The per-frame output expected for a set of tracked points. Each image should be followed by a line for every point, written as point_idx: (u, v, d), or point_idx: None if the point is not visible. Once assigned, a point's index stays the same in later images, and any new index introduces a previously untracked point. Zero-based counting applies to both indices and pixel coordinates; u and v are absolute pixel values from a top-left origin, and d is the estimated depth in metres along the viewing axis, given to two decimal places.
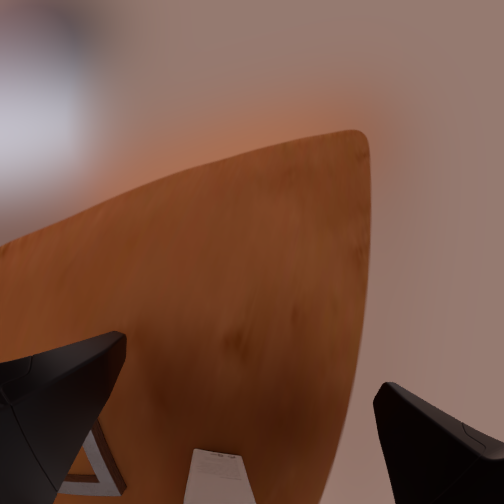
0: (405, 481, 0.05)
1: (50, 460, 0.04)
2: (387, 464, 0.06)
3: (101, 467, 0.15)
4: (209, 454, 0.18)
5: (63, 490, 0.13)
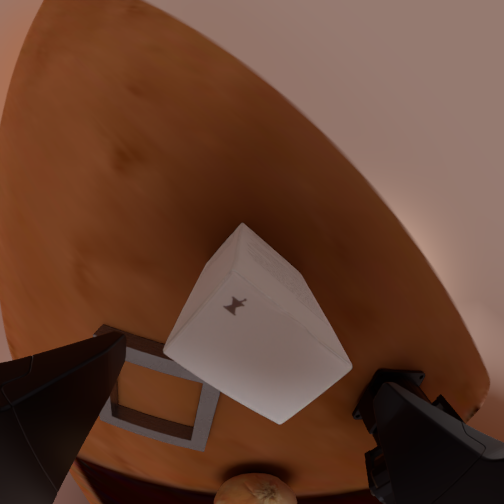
0: (405, 481, 0.05)
1: (51, 460, 0.04)
2: (387, 464, 0.06)
3: (185, 369, 0.20)
4: (215, 253, 0.19)
5: (207, 423, 0.22)
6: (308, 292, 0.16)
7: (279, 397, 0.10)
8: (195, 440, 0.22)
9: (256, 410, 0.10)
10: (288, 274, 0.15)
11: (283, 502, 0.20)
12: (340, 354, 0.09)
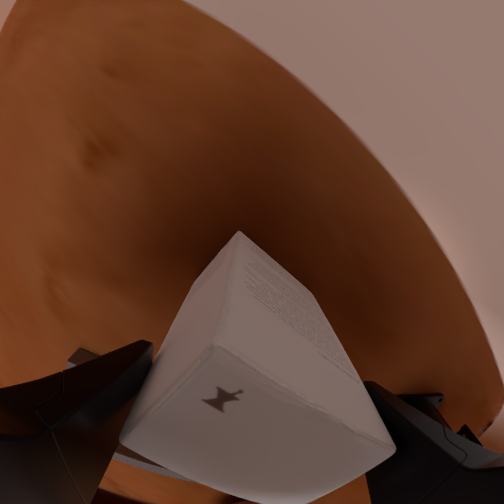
0: (382, 486, 0.05)
1: (83, 477, 0.04)
2: None
3: None
4: (204, 270, 0.15)
5: None
6: (327, 326, 0.11)
7: (291, 491, 0.05)
8: None
9: (258, 502, 0.05)
10: (301, 304, 0.11)
11: None
12: (383, 439, 0.05)
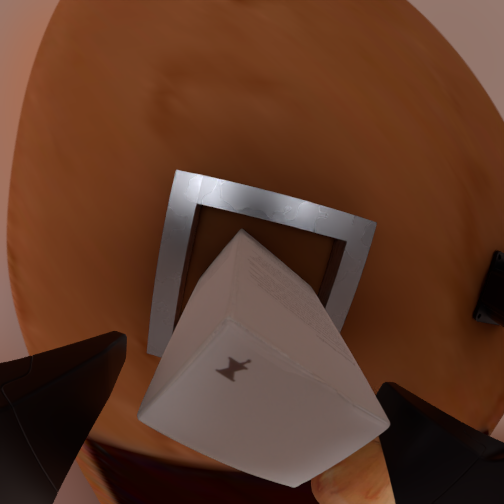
0: (405, 481, 0.05)
1: (51, 460, 0.04)
2: (387, 464, 0.06)
3: (325, 216, 0.15)
4: (210, 266, 0.16)
5: (337, 324, 0.16)
6: (325, 316, 0.12)
7: (294, 465, 0.06)
8: None
9: (264, 477, 0.06)
10: (300, 295, 0.12)
11: None
12: (377, 413, 0.06)
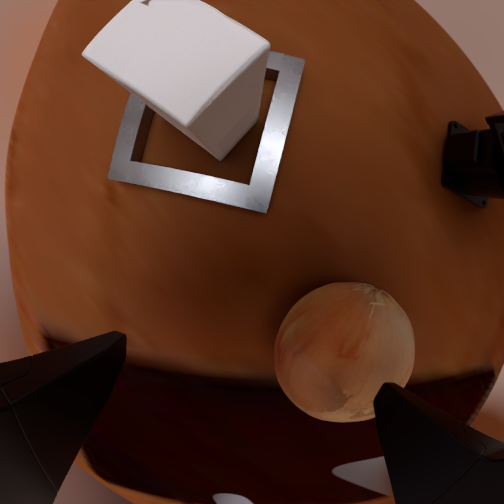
0: (405, 481, 0.05)
1: (50, 460, 0.04)
2: (387, 464, 0.06)
3: None
4: None
5: (279, 138, 0.17)
6: None
7: (182, 74, 0.07)
8: (256, 183, 0.18)
9: (155, 98, 0.07)
10: None
11: (400, 309, 0.15)
12: (252, 32, 0.07)
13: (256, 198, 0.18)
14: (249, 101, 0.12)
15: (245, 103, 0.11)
